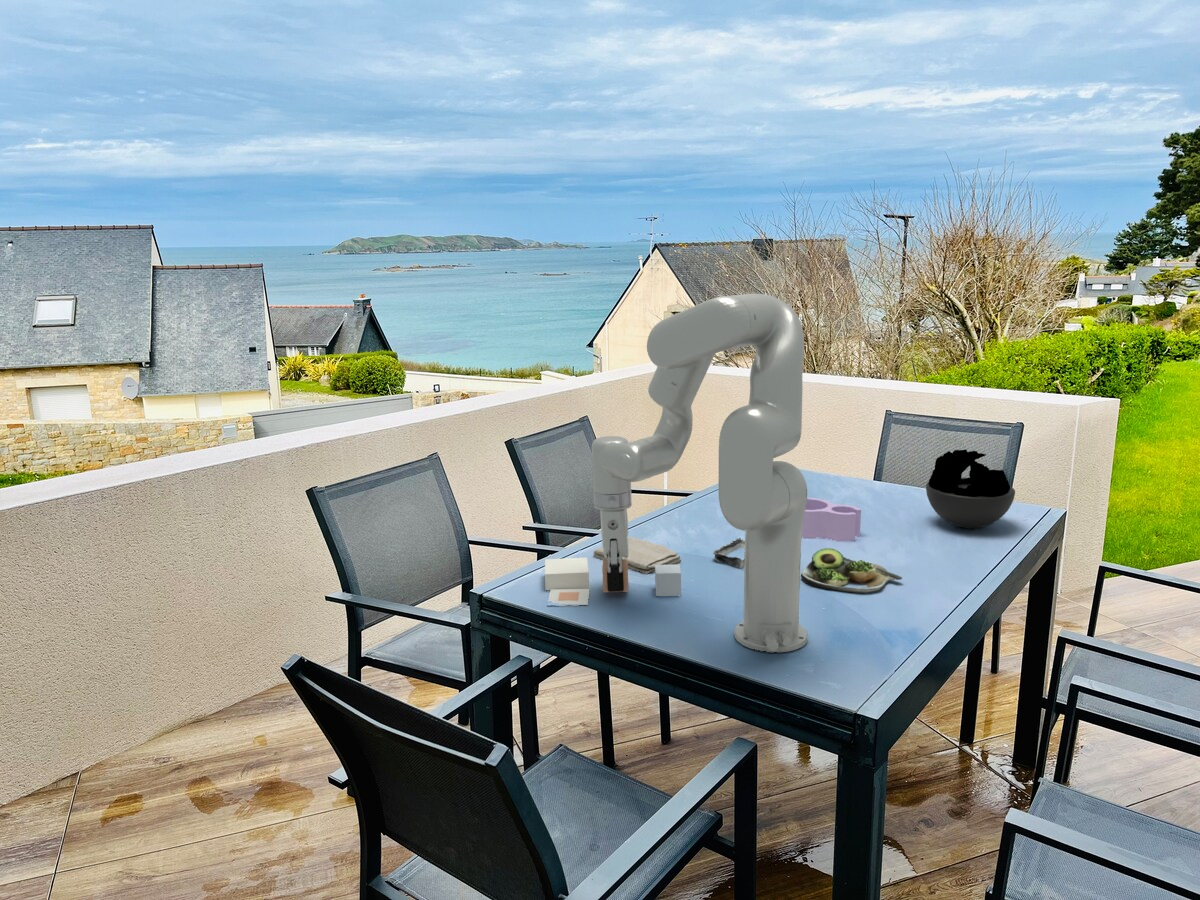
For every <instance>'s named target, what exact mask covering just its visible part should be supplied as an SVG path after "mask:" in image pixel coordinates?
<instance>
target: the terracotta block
mask: <svg viewBox="0 0 1200 900" xmlns="http://www.w3.org/2000/svg"><path fill="white" fill-rule="evenodd" d="M621 561H622V571H623V582H624V590H623V591H614V592H613V593H620V592H623V593H624V592H625V593H627V592H629V568H628V561H627V560H621ZM617 562H619V560H617ZM610 563H611V560H610ZM601 569H602V591H603V593H610V592H609V591H608V586H607V572H608V560H602V568H601Z"/></svg>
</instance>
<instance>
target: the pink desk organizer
mask: <svg viewBox="0 0 1200 900" xmlns="http://www.w3.org/2000/svg"><path fill="white" fill-rule="evenodd" d="M861 513H862V508H860V507H857V506H853V505H850V504H838V503H833V502H831V501H828V500H825V499H821V498H816V497H807V503H806V509H805V514H804V519H803V526H802V537H803V538H802V539H817V538H816V537H822V538H821V539H826V538H828V539H827V540H830V539H832V540H831V541H834V540H836V541H835V542H840V541H846V542H845V543H848V542H847V541H852V542H855V541H856V538H860V537H859V536H861V519H862V518H861V517H862V514H861ZM855 536H857V537H855Z"/></svg>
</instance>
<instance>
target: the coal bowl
mask: <svg viewBox="0 0 1200 900" xmlns="http://www.w3.org/2000/svg"><path fill="white" fill-rule="evenodd" d="M986 456H987V454H986V453H983V452H981V453H979V452H978V451H977V450H971V451H968V450H967V449H954V450H953V451H952V452H951V451H950V450H948V451H946V452H945V453H943V455H940V456H938V457H937V458H936V459H935V462H934V469H933V470H932V473H931V476H930V477H929V480H928V481H927V483H926V485H925V491H926V497H927V500H928V502H929V504H930V506H931V507H932V509H933V510H934V512H935V513H936V514H937V515H938V516H939V517H940V518H941V519H943V520H944V521H946V522H947V523H949V524H951V525H954V526H957V527H960V528H966V529H977V528H984V527H986V526H989V525H991V524H995V522H997V521H999V520H1000V519H1001V518H1003V516H1005V514H1006V513H1007V512H1008V511H1009V509H1010V508H1011V506H1012V504H1013V503H1014V500H1015V496H1016V490H1015V488H1013V487H1012V486H1011V485H1010V483H1009V480H1008V478H1007V475H1006V473H1005V470H1003V469H990V468H989V467H988V465H987V466H986V465H984V464H983V463H980V462H978V461H976V460H979V459H981V458H983V457H986ZM968 468H969V469H970V470H969V473H968V474H969V475H968V476H969V477H962V474H963V473H964V472H965V471H966V470H967V469H968Z"/></svg>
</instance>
